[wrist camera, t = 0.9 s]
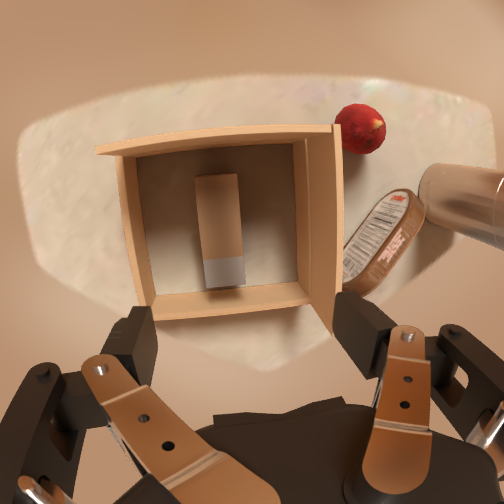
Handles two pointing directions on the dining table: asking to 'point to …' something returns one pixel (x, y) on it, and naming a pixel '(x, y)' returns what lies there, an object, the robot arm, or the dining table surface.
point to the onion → (361, 128)
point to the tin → (381, 240)
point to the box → (220, 229)
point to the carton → (307, 220)
